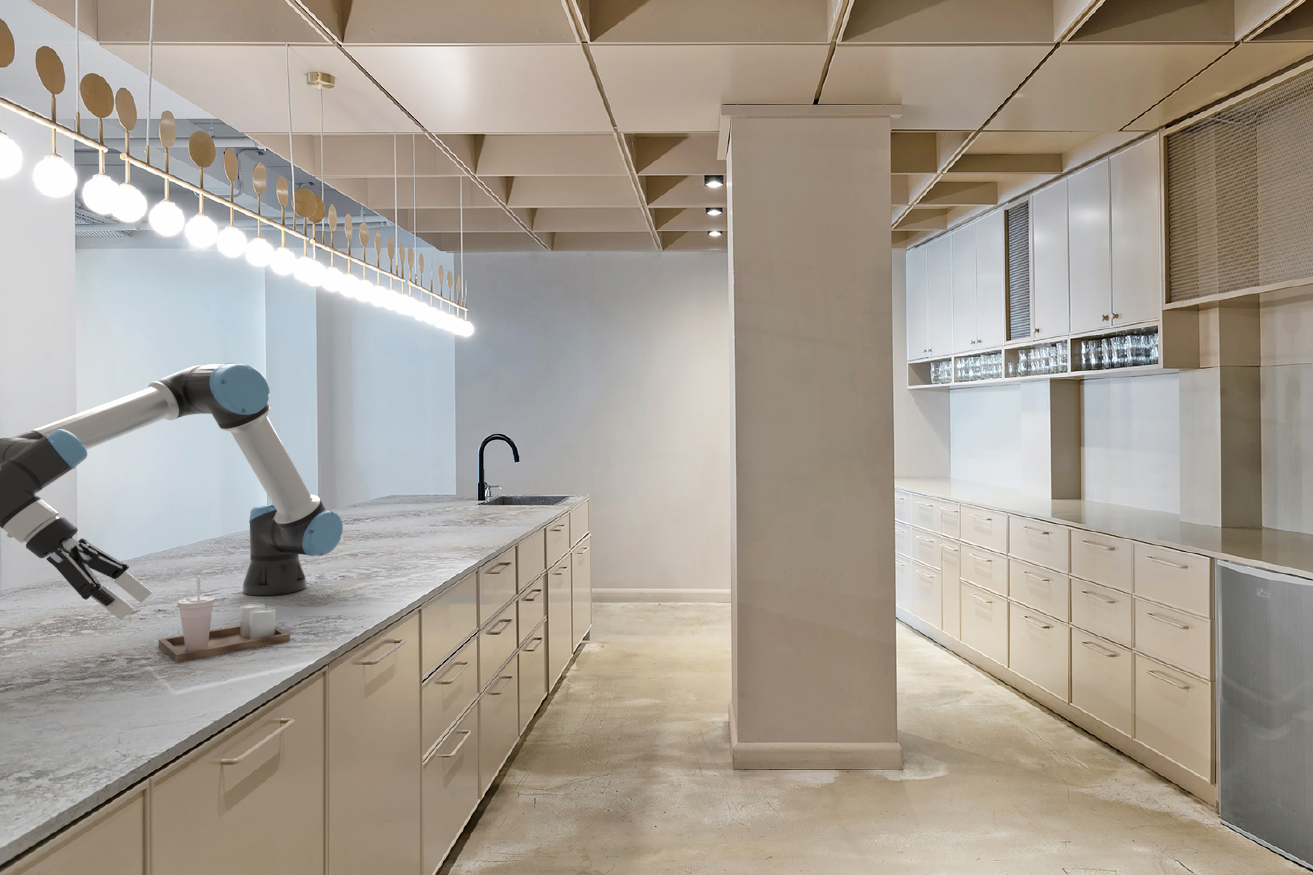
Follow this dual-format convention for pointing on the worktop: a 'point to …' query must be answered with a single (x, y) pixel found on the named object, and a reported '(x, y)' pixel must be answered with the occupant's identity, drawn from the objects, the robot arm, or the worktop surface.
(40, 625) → the worktop surface
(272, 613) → the white domed cylinder
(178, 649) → the tray
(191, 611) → the smoothie
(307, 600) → the worktop surface
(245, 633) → the white rounded cylinder
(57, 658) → the worktop surface
